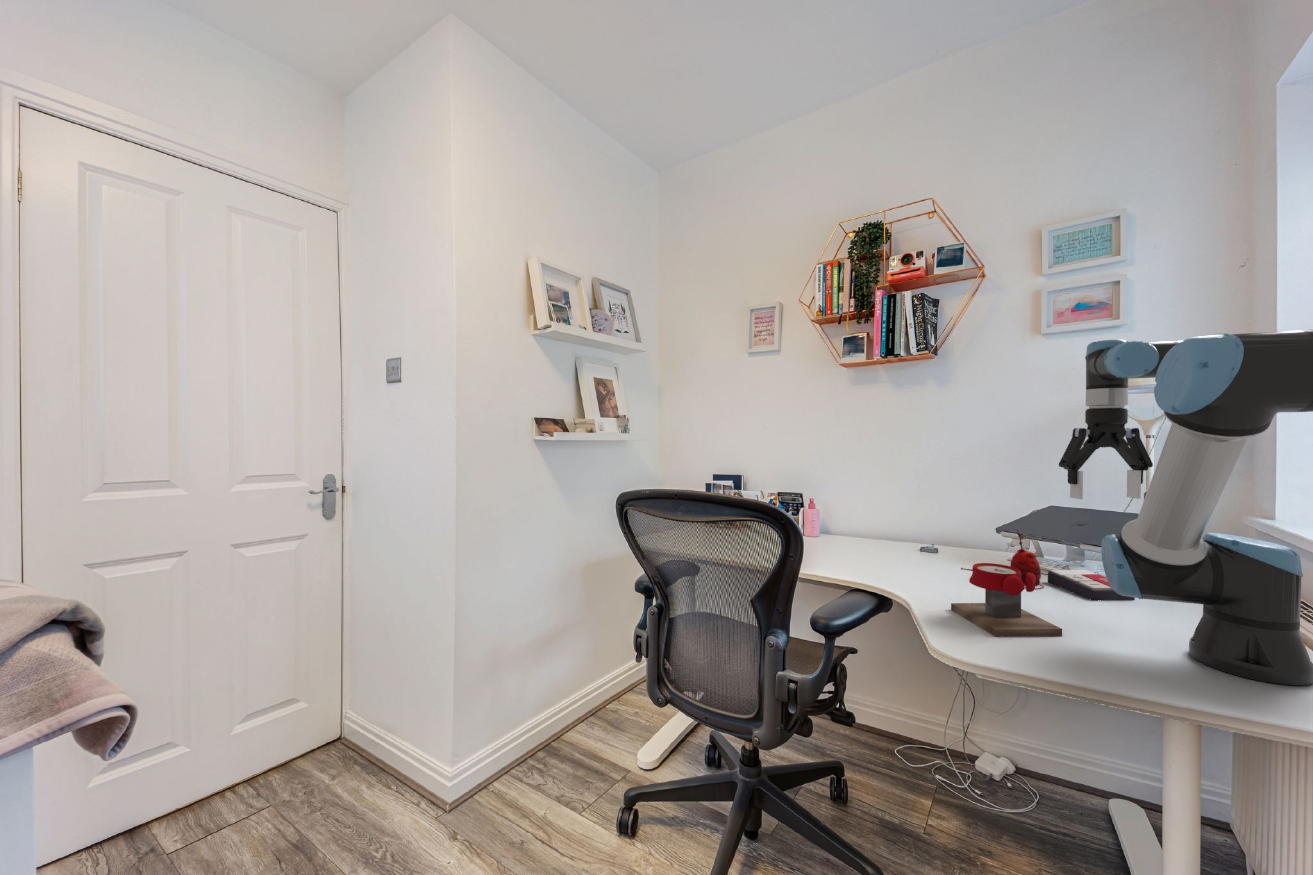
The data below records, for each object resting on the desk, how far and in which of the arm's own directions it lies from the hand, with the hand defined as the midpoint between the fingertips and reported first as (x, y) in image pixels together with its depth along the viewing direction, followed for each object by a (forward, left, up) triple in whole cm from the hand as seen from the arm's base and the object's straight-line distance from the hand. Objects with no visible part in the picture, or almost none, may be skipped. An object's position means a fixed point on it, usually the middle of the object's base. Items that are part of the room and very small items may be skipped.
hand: (1104, 498), depth 122 cm
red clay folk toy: (+23, +2, -27) cm, 36 cm away
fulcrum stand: (-6, +28, -27) cm, 39 cm away
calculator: (+15, -9, -27) cm, 33 cm away
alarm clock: (-6, +28, -19) cm, 34 cm away
